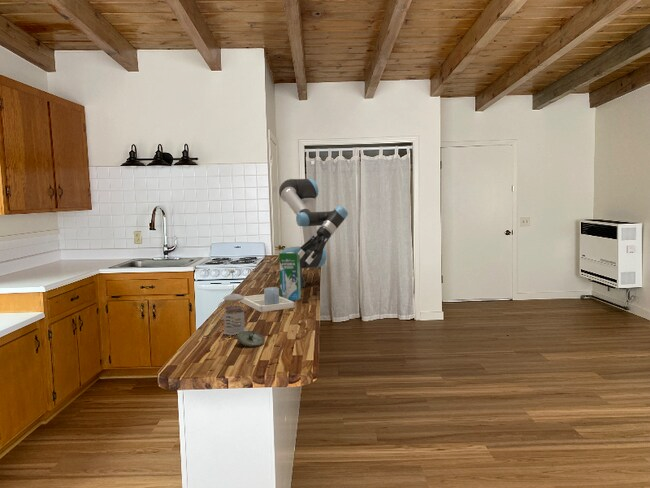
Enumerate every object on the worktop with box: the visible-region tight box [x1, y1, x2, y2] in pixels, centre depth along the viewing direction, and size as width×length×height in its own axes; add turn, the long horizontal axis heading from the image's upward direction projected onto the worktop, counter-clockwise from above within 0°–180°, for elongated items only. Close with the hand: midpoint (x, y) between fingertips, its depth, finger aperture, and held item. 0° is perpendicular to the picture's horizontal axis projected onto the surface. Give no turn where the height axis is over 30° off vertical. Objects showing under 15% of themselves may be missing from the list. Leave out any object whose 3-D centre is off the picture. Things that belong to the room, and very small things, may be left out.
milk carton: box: [278, 252, 302, 301], centre depth 268 cm, size 9×9×25 cm
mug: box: [263, 286, 280, 306], centre depth 248 cm, size 9×7×9 cm
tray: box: [240, 293, 295, 313], centre depth 256 cm, size 28×17×4 cm, turn 28°
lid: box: [235, 330, 265, 348], centre depth 191 cm, size 11×10×5 cm
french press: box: [217, 269, 248, 336], centre depth 209 cm, size 10×12×25 cm
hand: (301, 261), depth 270 cm, fingers open, 13 cm apart
